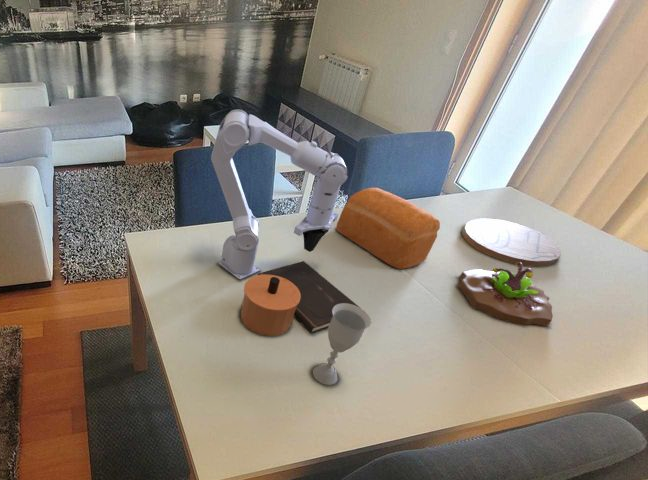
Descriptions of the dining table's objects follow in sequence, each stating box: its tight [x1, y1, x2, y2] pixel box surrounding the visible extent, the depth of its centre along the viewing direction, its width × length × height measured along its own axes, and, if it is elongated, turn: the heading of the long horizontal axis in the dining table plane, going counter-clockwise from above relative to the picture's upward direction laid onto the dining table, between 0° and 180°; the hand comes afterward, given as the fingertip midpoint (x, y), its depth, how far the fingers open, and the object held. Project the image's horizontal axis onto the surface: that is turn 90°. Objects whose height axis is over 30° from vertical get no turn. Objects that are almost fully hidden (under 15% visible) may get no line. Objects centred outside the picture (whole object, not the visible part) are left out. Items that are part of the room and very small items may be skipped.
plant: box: [458, 262, 553, 327], centre depth 103 cm, size 20×20×11 cm
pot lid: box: [243, 274, 301, 311], centre depth 95 cm, size 13×13×5 cm
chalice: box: [312, 303, 372, 386], centre depth 82 cm, size 7×7×18 cm
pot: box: [240, 292, 297, 337], centre depth 99 cm, size 12×12×8 cm
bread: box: [335, 187, 441, 270], centre depth 123 cm, size 14×26×16 cm, turn 24°
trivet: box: [461, 218, 562, 267], centre depth 128 cm, size 25×25×2 cm
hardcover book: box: [257, 260, 361, 334], centre depth 107 cm, size 16×23×2 cm
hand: (308, 249), depth 109 cm, fingers closed
